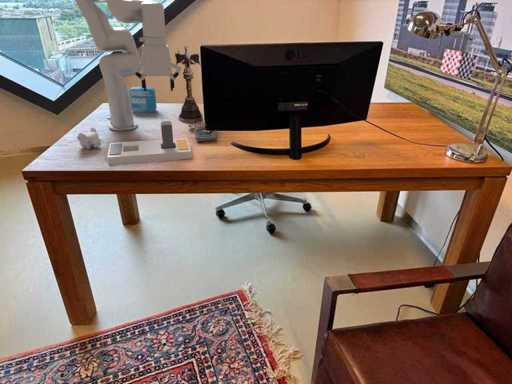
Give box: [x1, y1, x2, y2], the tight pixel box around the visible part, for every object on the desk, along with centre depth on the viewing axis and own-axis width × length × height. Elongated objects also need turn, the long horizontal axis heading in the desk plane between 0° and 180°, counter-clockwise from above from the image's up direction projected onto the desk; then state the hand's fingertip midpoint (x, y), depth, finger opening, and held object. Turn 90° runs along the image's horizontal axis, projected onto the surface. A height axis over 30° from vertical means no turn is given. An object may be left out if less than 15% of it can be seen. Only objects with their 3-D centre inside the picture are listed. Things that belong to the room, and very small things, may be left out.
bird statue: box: [174, 45, 203, 124], centre depth 172 cm, size 17×13×35 cm
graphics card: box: [188, 123, 217, 142], centre depth 158 cm, size 17×4×12 cm
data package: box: [129, 86, 157, 113], centre depth 183 cm, size 12×4×12 cm, turn 95°
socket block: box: [107, 137, 192, 166], centre depth 139 cm, size 30×14×3 cm, turn 106°
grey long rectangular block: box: [160, 118, 174, 149], centre depth 138 cm, size 4×4×14 cm
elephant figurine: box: [76, 127, 104, 150], centre depth 142 cm, size 8×10×7 cm
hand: (158, 90), depth 134 cm, fingers open, 9 cm apart
